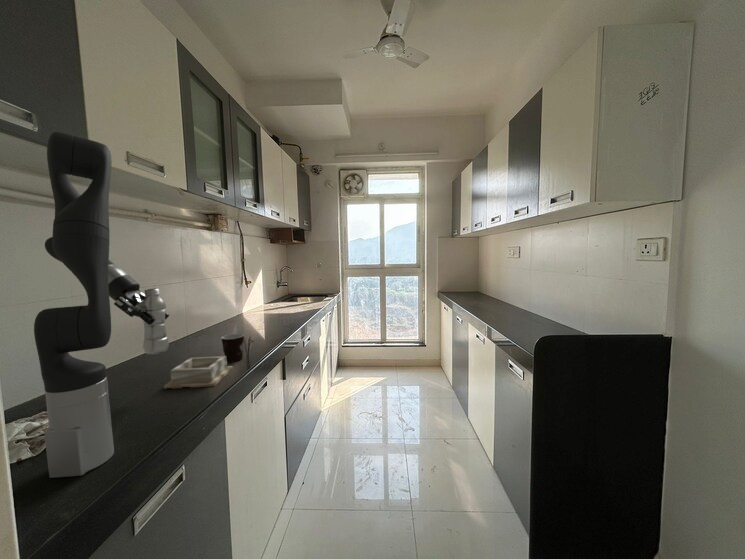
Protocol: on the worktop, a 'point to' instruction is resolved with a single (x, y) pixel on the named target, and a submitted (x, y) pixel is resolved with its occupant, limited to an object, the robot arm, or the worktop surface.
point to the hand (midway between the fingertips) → (160, 319)
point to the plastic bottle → (155, 323)
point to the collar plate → (199, 372)
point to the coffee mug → (233, 347)
